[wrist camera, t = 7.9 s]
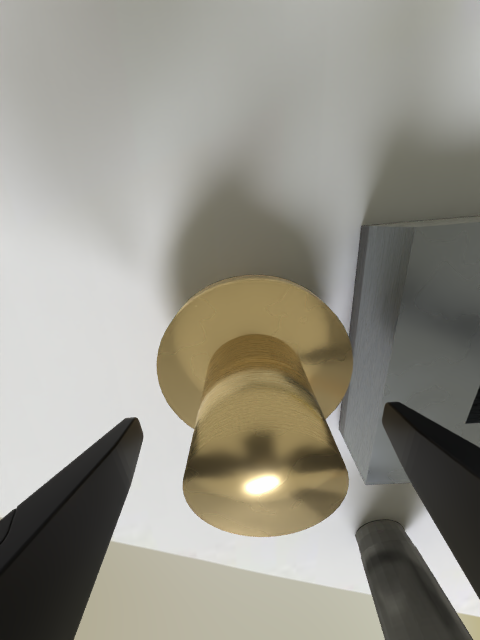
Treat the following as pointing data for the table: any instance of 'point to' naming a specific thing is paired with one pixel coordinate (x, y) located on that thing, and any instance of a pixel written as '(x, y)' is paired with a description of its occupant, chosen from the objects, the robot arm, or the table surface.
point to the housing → (413, 336)
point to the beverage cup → (405, 587)
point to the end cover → (258, 403)
